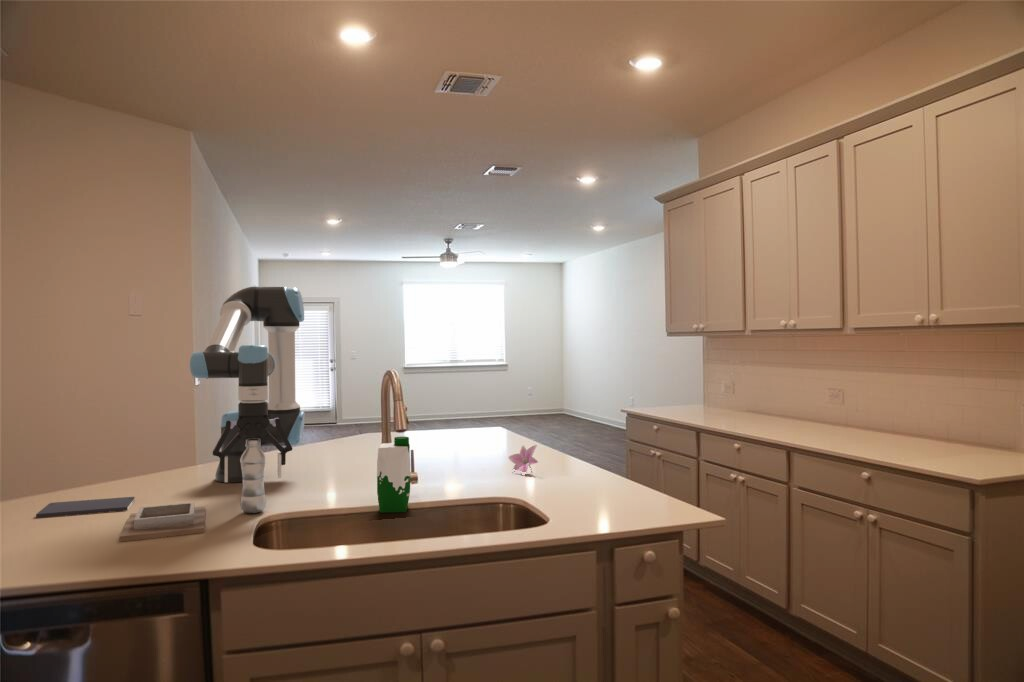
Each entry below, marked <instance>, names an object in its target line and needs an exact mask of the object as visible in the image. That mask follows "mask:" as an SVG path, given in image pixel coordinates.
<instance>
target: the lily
mask: <svg viewBox="0 0 1024 682" xmlns="http://www.w3.org/2000/svg"><path fill="white" fill-rule="evenodd" d="M537 446H538V445H537V444H534V445H532V446H530V447H528V448H527V449H526V447H525V445H521V448H520V450H519V453H515V454H514V453H513V454H511V455H509V456H508V457H507V459H509V461H510V462H511V463H513V464H515V465H514V466H513V469H515V470H517V471H519V472H520V471H522V472H526V473H527V471H528V468H529V469H530V468H531V469H532V467H531V465H535V464H538V463H539V462H538V460H537V459H536V458H535V457H533V455H534V453H535V451H536V448H537ZM513 469H512V470H513Z"/></svg>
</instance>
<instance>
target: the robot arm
mask: <svg viewBox="0 0 1024 682" xmlns="http://www.w3.org/2000/svg"><path fill="white" fill-rule="evenodd" d="M301 293H302V292H301V291H300V290H299V289H298V288H297V287H291V286H249V287H248V286H247V287H245V288H241V289H240V290H238V291H236V292H234V293H233V294H231V295H230V296H229V297H228V298H226V300H225V301H224V302H223V303H222V305H221V307H220V310H219V316H220V318H219V320H218V322H217V323H216V325H215V328H214V330H213V333H212V334H211V337H210V339H209V341H208V343H207V345H206V346H205V347H206V348H205V349H204V351H202V350H201V351H195V352H193V353H192V354H190V355H191V356H190V360H189V369H190V374H191V375H192V377H193V378H194V379H195V378H196V379H207V380H208V379H238V386H237V387H238V388H237V389H238V390H237V391H238V393H237V397H238V398H237V399H238V401H240V402H239V403H238V404H237V406H238V409H236V410H235V409H234V410H231V411H227V412H225V413H223V414H222V415H221V421H220V437H219V439H218V440H217V442H216V444H215V447H214V448H213V451H212V456H214V457H217V458H219V461H218V465H217V468H216V471H215V481H216V482H218V483H219V482H220V483H231V484H232V483H243V478H242V469H241V463H240V458H241V456H242V454H243V452H244V451H245V450H246V448H247V447H246V446H245V445H246V440H247V439H255V438H256V439H260V444H261V446H259V447H275V448H276V449H277V450H278V451H279V452H277V479H282V466H285V465H286V463H287V462H286V461H287V460H286V454H287V453H288V452H292V451H293V446H297V445H299V444H300V442H301V441H302V439H303V438H302V437H303V433H304V429H305V422H306V421H305V419H306V413H305V411H303V410H301V405H300V404H298V402H297V400H296V331H297V330H298V329H299V328H300V323H302V322H304V320H305V308H304V302H303V297H302V294H301ZM250 322H262V324H263V329H265V330H266V332H267V336H268V337H267V339H268V341H267V343H268V346H267V345H264V344H263V345H262V344H258V345H257V344H254V345H253V344H243V345H240V346H239V348H238V351H235V350H236V348H237V345H238V344H239V343H238V342H239V340H240V337H241V335H242V332H243V330H244V327H245V326H247V325H248V324H249V323H250ZM267 400H268V401H267ZM220 450H221V451H220Z"/></svg>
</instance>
